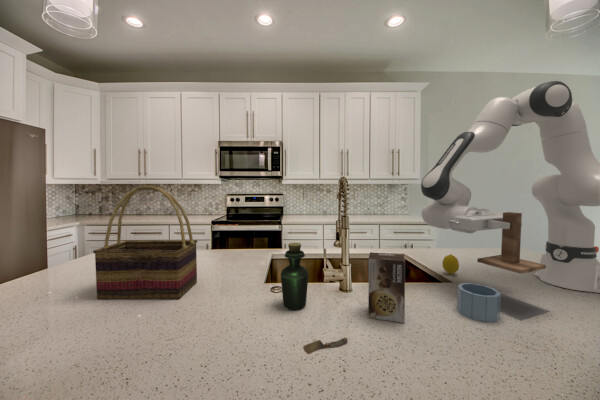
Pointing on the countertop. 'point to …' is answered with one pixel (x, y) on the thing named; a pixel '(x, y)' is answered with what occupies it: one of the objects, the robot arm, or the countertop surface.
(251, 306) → the countertop surface
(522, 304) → the mat
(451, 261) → the lemon
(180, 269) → the basket
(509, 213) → the wooden post on board
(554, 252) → the robot arm
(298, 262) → the potion bottle
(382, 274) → the coffee box
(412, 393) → the countertop surface
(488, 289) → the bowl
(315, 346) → the meat cleaver
